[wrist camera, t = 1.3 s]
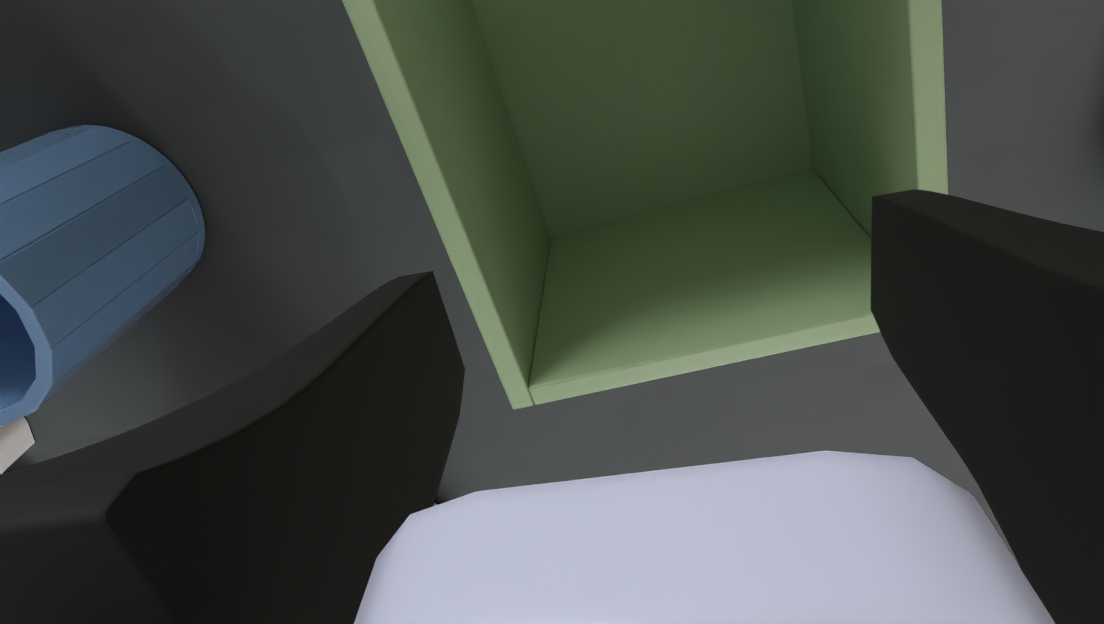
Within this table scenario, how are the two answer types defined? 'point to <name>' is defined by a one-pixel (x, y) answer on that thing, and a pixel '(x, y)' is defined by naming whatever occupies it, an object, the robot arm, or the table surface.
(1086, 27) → the table surface
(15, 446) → the cable organizer
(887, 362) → the table surface
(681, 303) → the bin
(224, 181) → the table surface
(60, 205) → the cup
